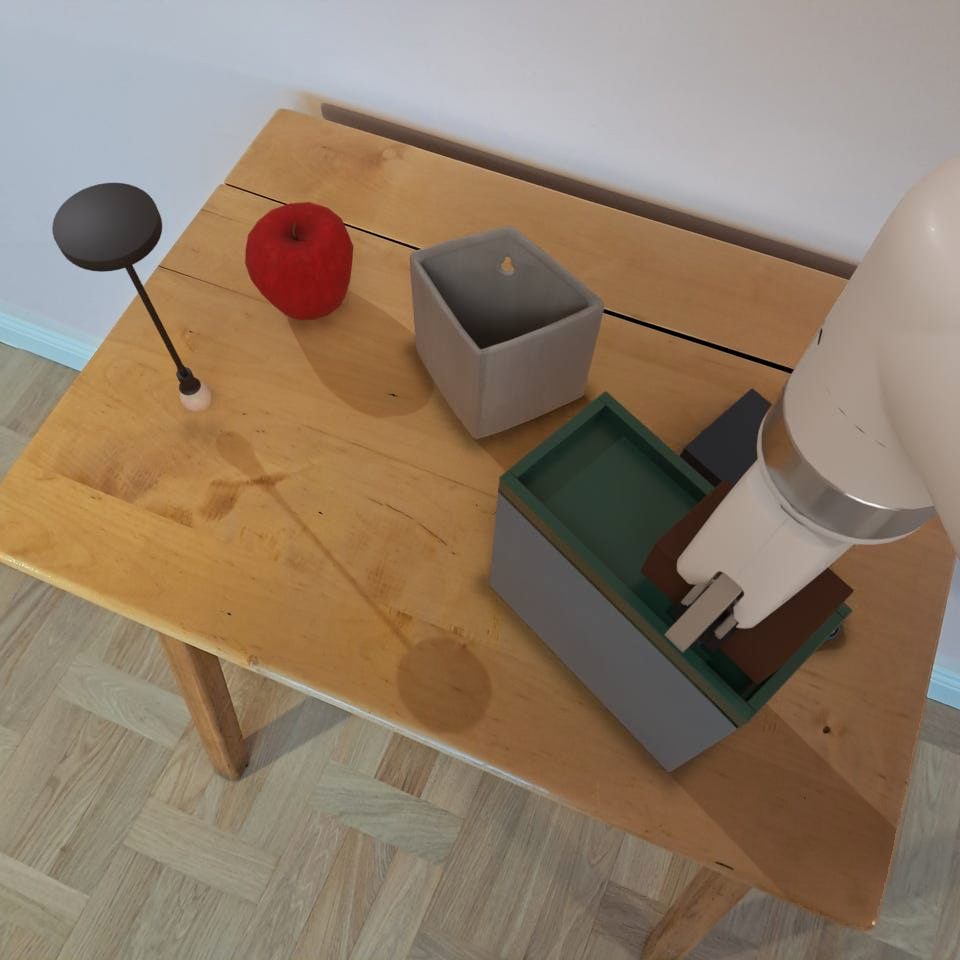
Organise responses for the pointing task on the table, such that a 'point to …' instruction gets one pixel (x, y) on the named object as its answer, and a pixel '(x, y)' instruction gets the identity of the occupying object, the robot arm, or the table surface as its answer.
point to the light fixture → (121, 253)
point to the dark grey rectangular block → (729, 441)
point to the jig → (633, 536)
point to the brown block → (747, 646)
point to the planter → (502, 328)
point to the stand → (600, 645)
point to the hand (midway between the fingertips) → (734, 591)
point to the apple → (300, 259)
